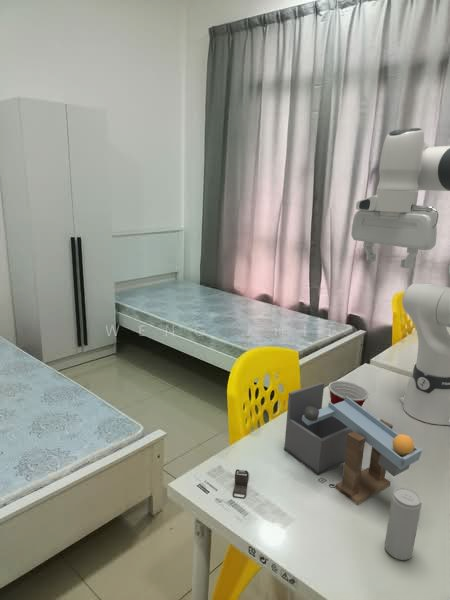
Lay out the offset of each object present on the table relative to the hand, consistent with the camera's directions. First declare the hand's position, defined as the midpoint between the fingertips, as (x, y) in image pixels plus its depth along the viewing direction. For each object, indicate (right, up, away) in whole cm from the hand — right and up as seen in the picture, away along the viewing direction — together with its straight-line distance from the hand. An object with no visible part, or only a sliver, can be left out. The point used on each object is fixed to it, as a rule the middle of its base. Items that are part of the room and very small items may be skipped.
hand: (387, 264), depth 100 cm
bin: (-15, -47, +7) cm, 50 cm away
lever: (-11, -40, -9) cm, 43 cm away
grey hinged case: (-35, -50, -5) cm, 61 cm away
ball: (-2, -38, -14) cm, 40 cm away
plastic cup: (-5, -45, +20) cm, 49 cm away
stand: (-7, -51, -4) cm, 51 cm away
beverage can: (-6, -55, -21) cm, 59 cm away
